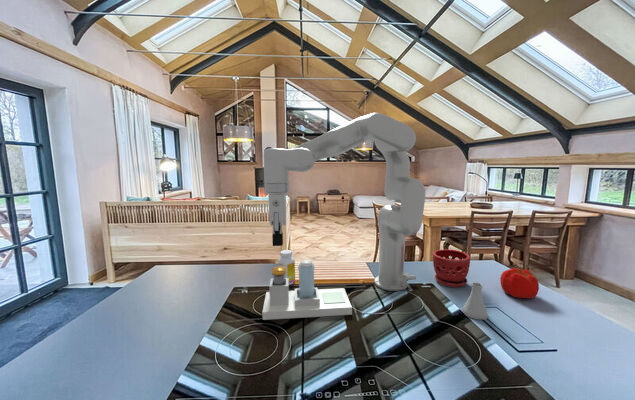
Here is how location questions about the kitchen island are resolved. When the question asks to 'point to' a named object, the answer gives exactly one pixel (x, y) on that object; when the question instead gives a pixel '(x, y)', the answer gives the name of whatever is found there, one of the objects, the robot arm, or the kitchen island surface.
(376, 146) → the robot arm
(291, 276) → the supplement bottle
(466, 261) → the plant pot
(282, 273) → the plunger
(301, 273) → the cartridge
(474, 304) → the flask
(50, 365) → the kitchen island surface
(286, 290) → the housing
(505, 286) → the tomato
